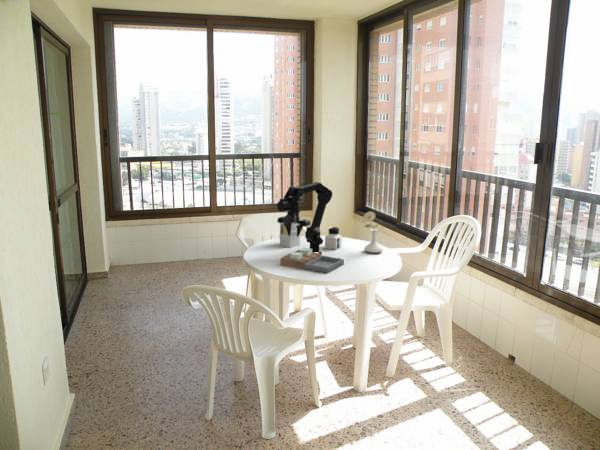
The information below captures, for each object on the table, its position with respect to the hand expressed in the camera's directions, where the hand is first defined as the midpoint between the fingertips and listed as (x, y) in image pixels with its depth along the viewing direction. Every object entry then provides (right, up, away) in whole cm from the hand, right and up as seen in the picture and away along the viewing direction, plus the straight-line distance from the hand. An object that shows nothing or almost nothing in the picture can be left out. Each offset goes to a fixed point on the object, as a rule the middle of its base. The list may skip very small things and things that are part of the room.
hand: (293, 236), depth 299 cm
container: (+24, -8, +27) cm, 37 cm away
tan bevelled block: (+4, -15, -6) cm, 16 cm away
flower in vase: (+48, -10, +20) cm, 52 cm away
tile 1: (+2, -12, -12) cm, 17 cm away
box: (+17, -16, -13) cm, 27 cm away
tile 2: (+7, -10, -2) cm, 12 cm away
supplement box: (-3, -7, +32) cm, 33 cm away
